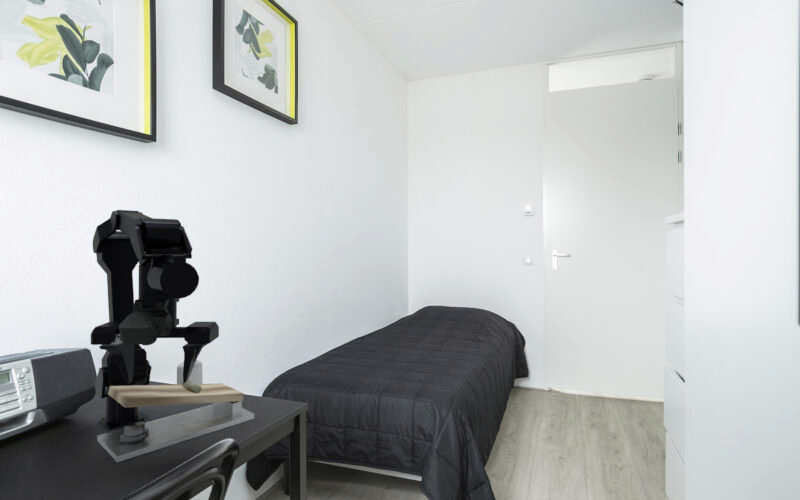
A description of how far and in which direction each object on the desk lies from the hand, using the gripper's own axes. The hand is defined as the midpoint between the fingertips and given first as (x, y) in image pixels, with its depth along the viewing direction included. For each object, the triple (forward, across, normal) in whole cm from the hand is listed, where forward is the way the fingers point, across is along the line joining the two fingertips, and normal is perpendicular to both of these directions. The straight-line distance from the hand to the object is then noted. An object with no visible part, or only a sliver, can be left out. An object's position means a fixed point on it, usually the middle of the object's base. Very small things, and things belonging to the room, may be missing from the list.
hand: (157, 382), depth 75 cm
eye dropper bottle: (+14, -6, +32) cm, 35 cm away
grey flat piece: (+13, -1, +11) cm, 17 cm away
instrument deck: (+7, -1, +11) cm, 13 cm away
